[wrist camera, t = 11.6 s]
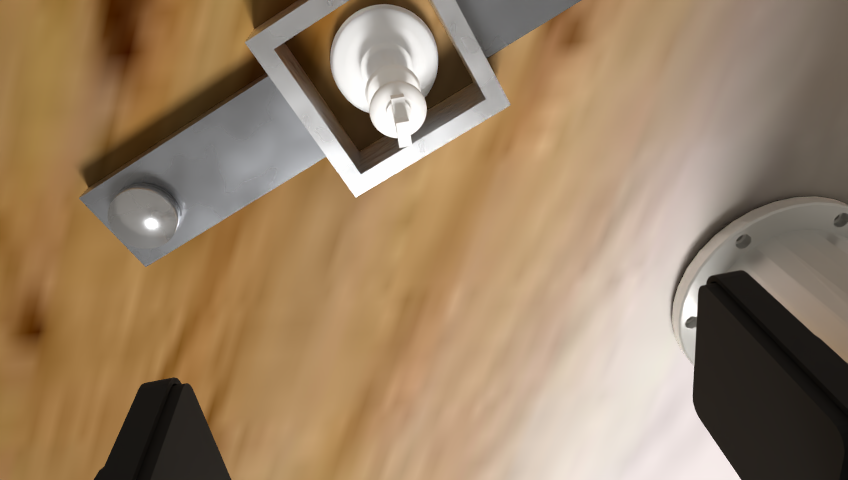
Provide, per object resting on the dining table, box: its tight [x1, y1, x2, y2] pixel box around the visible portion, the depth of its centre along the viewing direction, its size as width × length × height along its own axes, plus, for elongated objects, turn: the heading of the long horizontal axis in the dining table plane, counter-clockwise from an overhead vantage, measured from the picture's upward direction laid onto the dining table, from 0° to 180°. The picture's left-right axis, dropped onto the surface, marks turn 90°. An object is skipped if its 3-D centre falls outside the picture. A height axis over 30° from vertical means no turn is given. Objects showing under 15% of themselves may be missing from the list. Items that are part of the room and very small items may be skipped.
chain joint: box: [79, 0, 581, 267], centre depth 28 cm, size 30×8×3 cm, turn 120°
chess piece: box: [330, 4, 438, 148], centre depth 25 cm, size 5×5×10 cm
